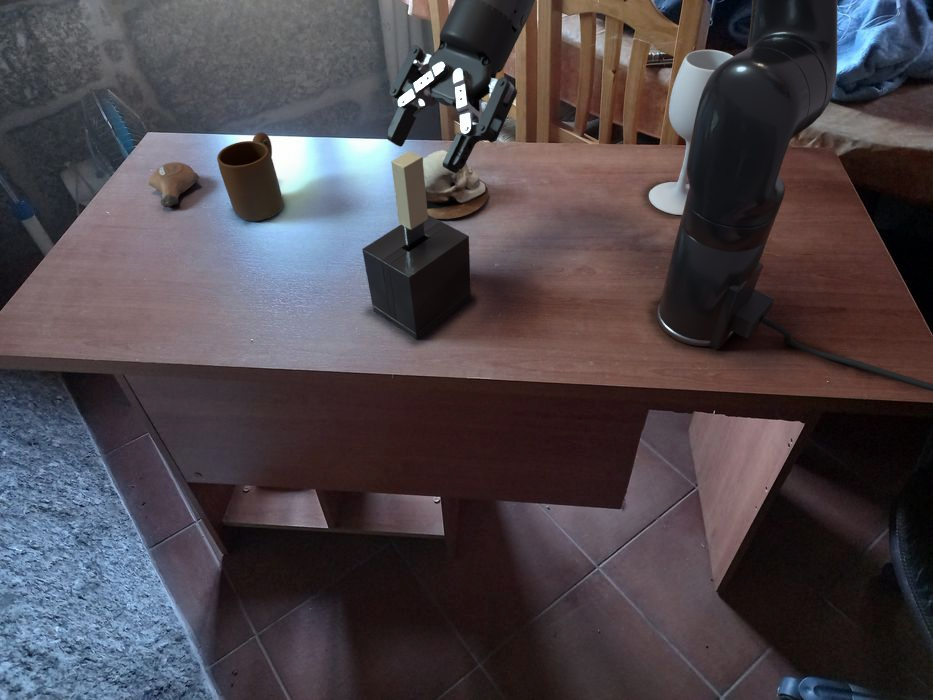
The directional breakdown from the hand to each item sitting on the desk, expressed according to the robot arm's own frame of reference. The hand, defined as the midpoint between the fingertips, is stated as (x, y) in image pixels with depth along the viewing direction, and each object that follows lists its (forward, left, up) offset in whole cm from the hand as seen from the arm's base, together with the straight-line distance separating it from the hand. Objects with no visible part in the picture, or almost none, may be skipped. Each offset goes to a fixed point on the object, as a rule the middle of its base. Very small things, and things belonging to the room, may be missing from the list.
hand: (420, 156), depth 71 cm
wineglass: (-13, -40, -20) cm, 47 cm away
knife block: (0, +2, -20) cm, 20 cm away
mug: (+36, +1, -21) cm, 41 cm away
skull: (+14, -18, -21) cm, 31 cm away
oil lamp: (+49, +9, -21) cm, 54 cm away
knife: (0, +2, -19) cm, 19 cm away
